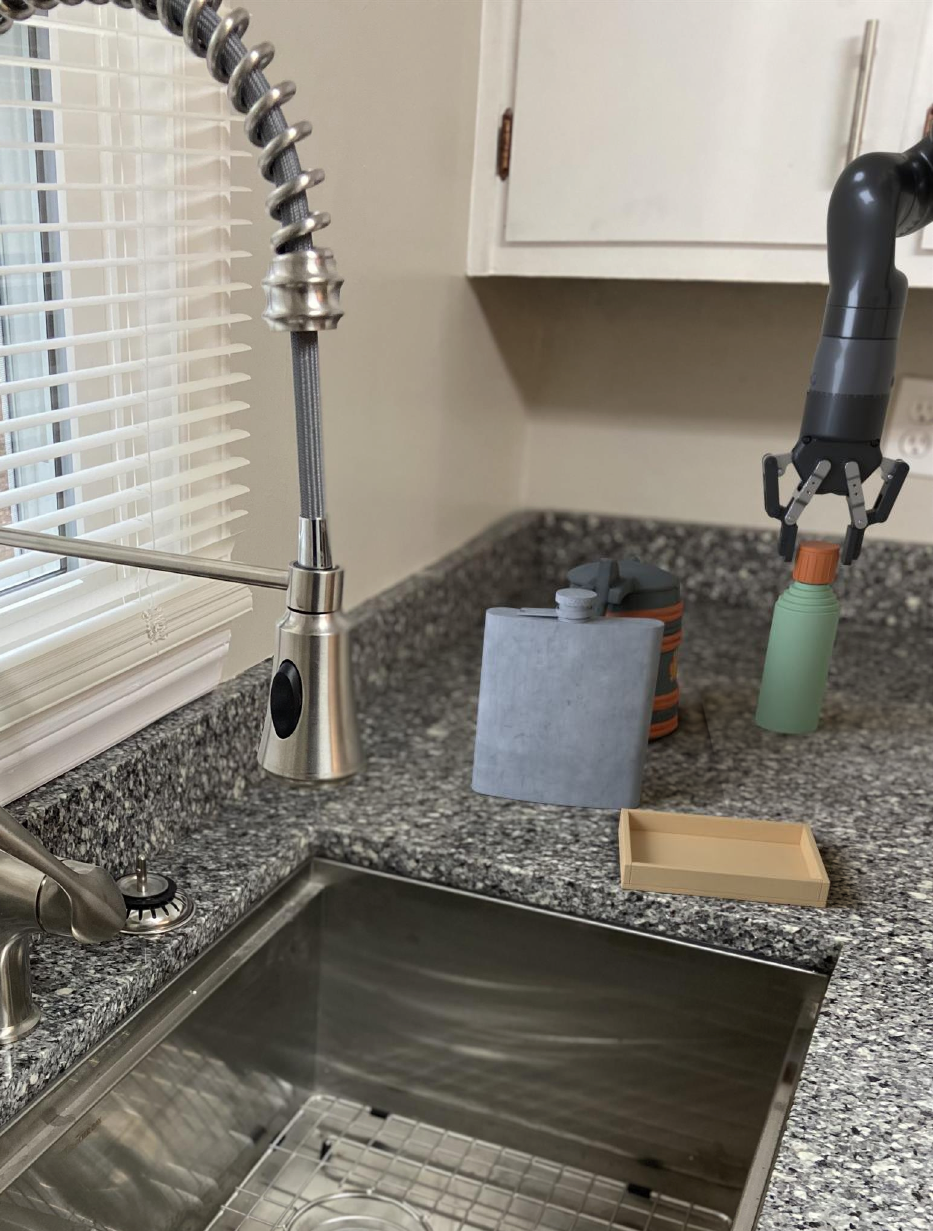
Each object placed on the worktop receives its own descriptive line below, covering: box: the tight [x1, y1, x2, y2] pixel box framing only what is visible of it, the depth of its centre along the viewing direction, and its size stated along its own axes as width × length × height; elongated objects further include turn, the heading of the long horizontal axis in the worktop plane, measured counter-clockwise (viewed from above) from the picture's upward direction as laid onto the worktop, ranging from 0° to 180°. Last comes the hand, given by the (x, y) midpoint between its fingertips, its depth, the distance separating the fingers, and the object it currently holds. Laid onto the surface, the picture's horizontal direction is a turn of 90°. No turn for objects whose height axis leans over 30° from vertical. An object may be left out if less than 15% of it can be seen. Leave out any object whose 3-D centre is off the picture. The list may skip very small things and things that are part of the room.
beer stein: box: [566, 555, 684, 742], centre depth 148 cm, size 19×15×20 cm
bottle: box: [754, 579, 842, 735], centre depth 148 cm, size 6×6×20 cm
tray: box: [617, 808, 831, 909], centre depth 121 cm, size 16×12×2 cm
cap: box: [792, 540, 841, 584], centre depth 144 cm, size 4×4×4 cm
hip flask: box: [471, 587, 665, 810], centre depth 131 cm, size 16×4×20 cm, turn 75°
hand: (815, 561), depth 144 cm, fingers open, 5 cm apart
